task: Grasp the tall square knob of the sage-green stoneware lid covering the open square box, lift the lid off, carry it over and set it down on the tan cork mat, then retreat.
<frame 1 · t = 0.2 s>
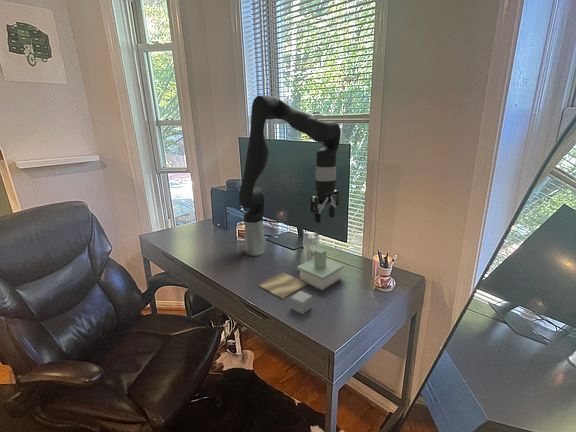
hand: (324, 219, 121), 27 cm above the table, fingers open, 8 cm apart
small box: (301, 308, 113), on the table
open square box: (320, 279, 132), on the table
lid: (320, 268, 130), point 5 cm above the table, touching open square box
beer glass: (311, 265, 144), on the table
mat: (282, 285, 128), on the table
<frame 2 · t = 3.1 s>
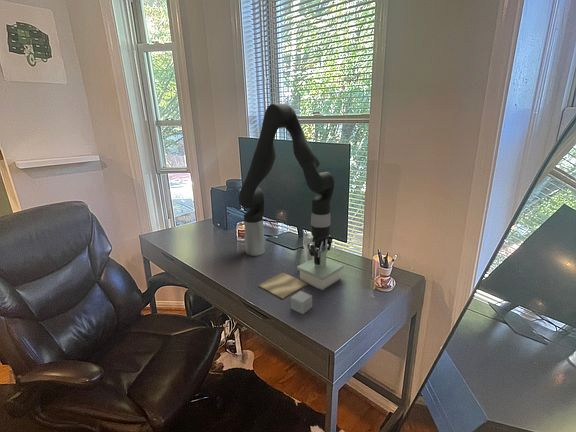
hand: (320, 262, 130), 8 cm above the table, fingers closed on lid, 3 cm apart
lid: (320, 268, 130), point 5 cm above the table, touching open square box, gripper
everything else where it was.
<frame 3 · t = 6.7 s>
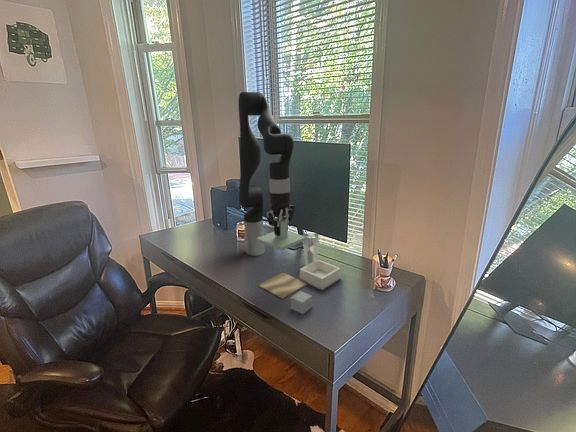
hand: (281, 233, 121), 23 cm above the table, fingers closed on lid, 3 cm apart
lid: (281, 240, 122), point 20 cm above the table, touching gripper
everything else where it was.
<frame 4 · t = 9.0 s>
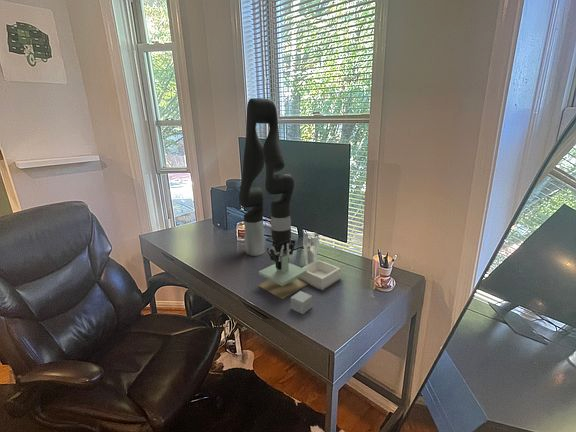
hand: (282, 267, 125), 8 cm above the table, fingers closed on lid, 3 cm apart
lid: (282, 273, 126), point 6 cm above the table, touching gripper
everything else where it was.
when the fingers open (5 cm above the table, at t = 10.6 s): lid drops 1 cm, resting on mat.
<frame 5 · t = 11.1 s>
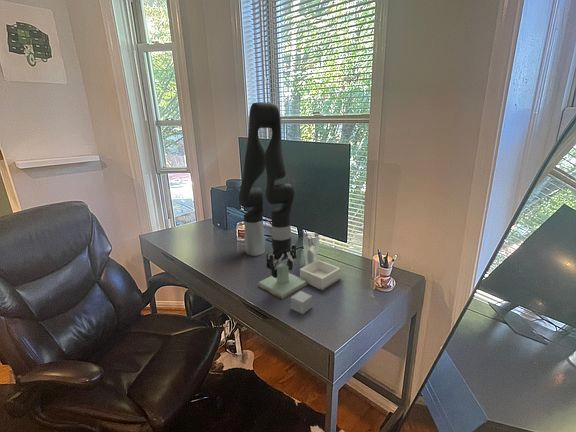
hand: (282, 273, 126), 6 cm above the table, fingers open, 8 cm apart
lid: (282, 284, 128), point 1 cm above the table, touching mat
everything else where it was.
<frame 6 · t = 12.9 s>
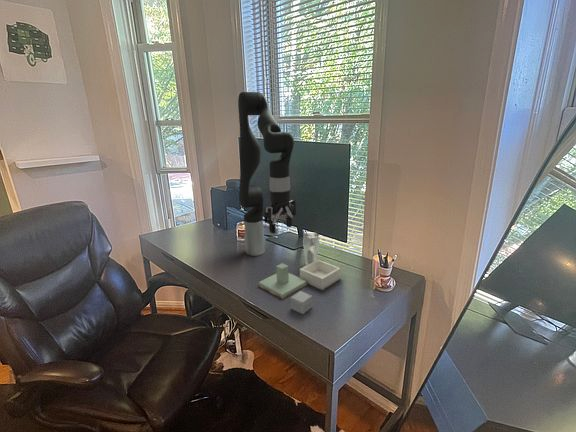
hand: (281, 229, 121), 24 cm above the table, fingers open, 8 cm apart
nothing on the table moved.
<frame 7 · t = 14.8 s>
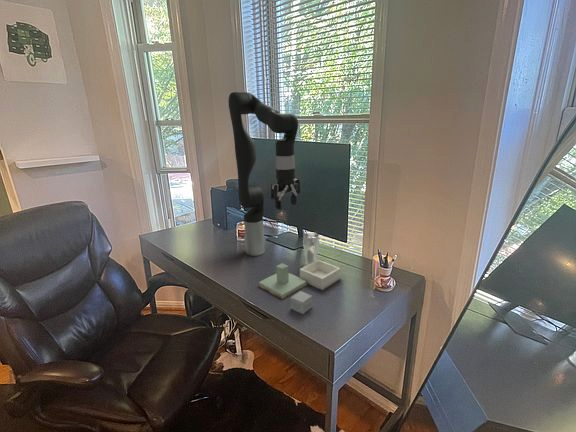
hand: (286, 206, 129), 30 cm above the table, fingers open, 8 cm apart
nothing on the table moved.
at the end: lid inside the target area on the mat (0.0 cm from its centre), point 0.6 cm above the mat's base; lid touching mat; the gripper is holding nothing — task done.
